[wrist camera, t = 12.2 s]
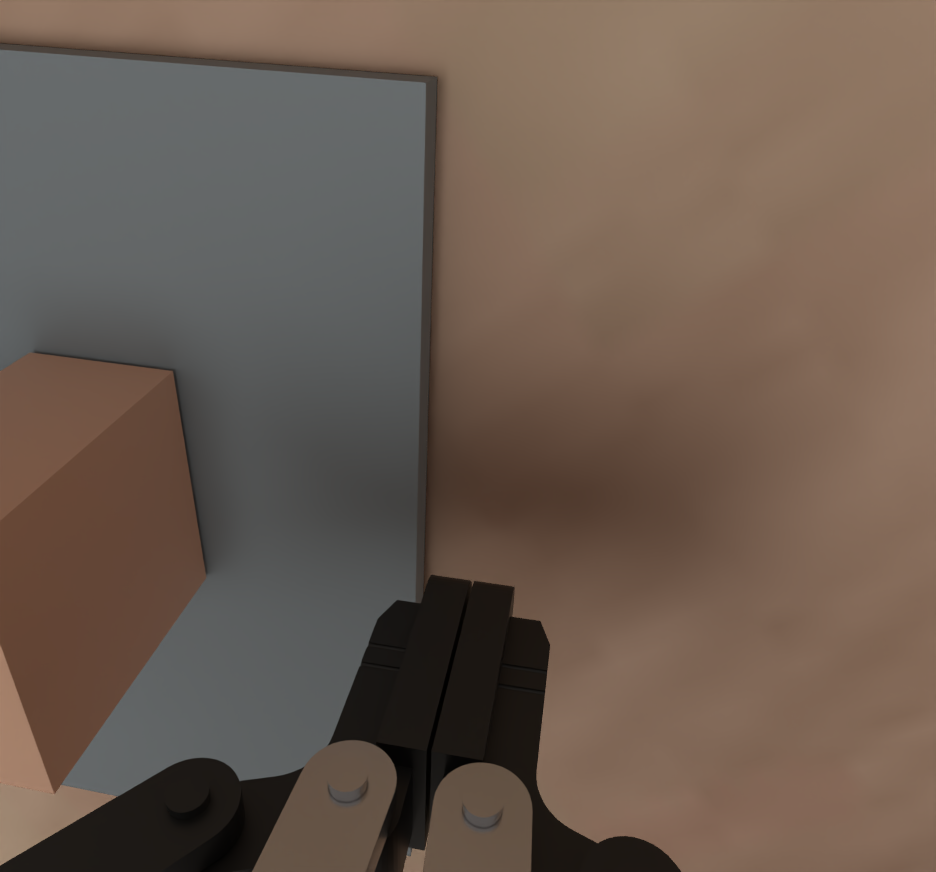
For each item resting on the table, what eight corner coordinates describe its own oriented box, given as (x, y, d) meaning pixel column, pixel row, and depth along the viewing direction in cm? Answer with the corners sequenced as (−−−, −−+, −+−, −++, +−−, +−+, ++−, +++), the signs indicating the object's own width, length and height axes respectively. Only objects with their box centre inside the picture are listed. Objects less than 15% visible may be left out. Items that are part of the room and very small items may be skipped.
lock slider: (173, 370, 15) (-34, 550, 10) (206, 577, 18) (54, 794, 13) (30, 352, 15) (-233, 517, 11) (84, 557, 18) (-107, 761, 13)
